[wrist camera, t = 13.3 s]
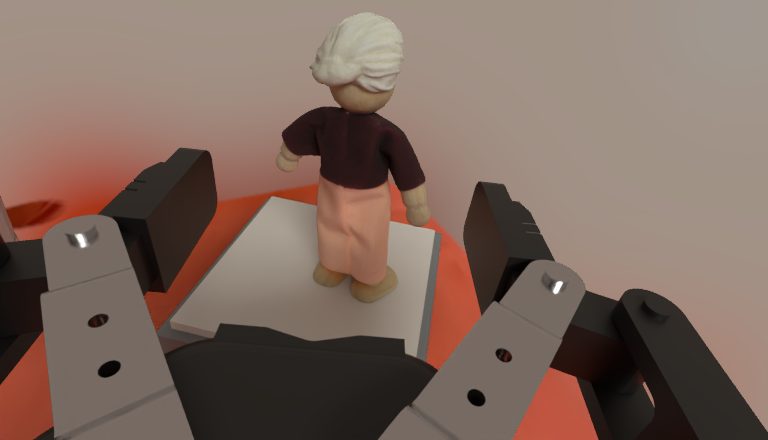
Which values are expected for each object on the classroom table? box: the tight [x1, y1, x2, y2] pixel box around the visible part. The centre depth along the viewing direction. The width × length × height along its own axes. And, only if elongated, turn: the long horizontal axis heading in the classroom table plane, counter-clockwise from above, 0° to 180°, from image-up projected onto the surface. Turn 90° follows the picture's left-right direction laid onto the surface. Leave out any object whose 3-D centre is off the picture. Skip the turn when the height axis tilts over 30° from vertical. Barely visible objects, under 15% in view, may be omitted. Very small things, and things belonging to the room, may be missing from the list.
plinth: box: [156, 196, 442, 362], centre depth 23 cm, size 12×12×5 cm
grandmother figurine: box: [276, 12, 430, 303], centre depth 18 cm, size 8×4×13 cm, turn 74°
